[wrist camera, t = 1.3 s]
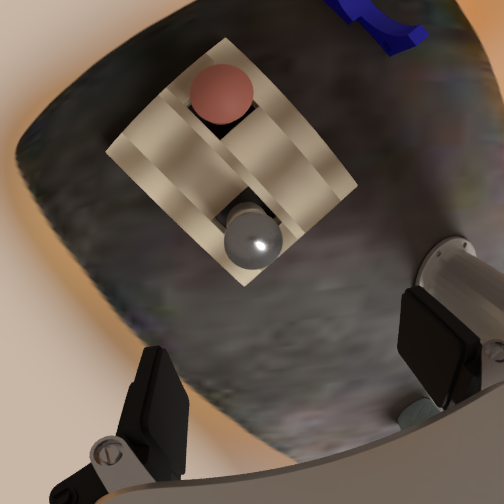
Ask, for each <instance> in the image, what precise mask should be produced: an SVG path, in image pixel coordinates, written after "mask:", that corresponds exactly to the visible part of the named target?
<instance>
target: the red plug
mask: <svg viewBox="0 0 504 504" xmlns="http://www.w3.org/2000/svg"><path fill="white" fill-rule="evenodd" d="M253 95H254V90H253V85H252V82H251V80H250V78H249V77H248V76H247V74H246V73H245V72H243V71H242V70H241V69H239V68H237V67H235V66H232V65H228V64H217V65H213V66H210V67H207V68H206V69H204V70H202V71H201V72H200V73H199V74H198V75H197V76H196V77H195V79H194V80H193V82H192V85H191V88H190V101H191V104H192V106H193V108H194V110H195V111H196V112H197V113H198V115H199V116H201V117H202V118H203V119H205V120H207V121H209V122H211V123H214V124H218V125H224V124H228V123H231V122H233V121H235V120H237V119H238V118H240V117H241V116H243V115H244V114H245V113H246V111H247V110H248V109H249V107H250V106H251V103H252V100H253Z"/></svg>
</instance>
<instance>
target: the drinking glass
mask: <svg viewBox="0 0 504 504" xmlns="http://www.w3.org/2000/svg"><path fill="white" fill-rule="evenodd" d="M439 413H441V412H440V411H439V410H438V408H436V406H435V405H434V403H433V402H432V401H431V400H430V399H427V398H423V399H420V400H418V401H416V402H414V403H412V404H411V405H409V406H408V407H407V408H406V409H405V410H404V411H403V412H402V413H401V414H400V416H399V418H398V424H399V426H400V428H401V430H404V429H406V428H409V427H411V426H413V425H415V424H418V423H420V422H422V421H424V420H426V419H428V418H430V417H433V416H435V415H437V414H439Z"/></svg>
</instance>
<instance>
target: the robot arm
mask: <svg viewBox="0 0 504 504" xmlns="http://www.w3.org/2000/svg"><path fill="white" fill-rule="evenodd" d="M397 349H398V352H399V354H400V355H401V357H402V358H403V359H404V361H405V362H406V363H407V365H408V366H409V368H410V369H411V370H412V372H413V373H414V374H415V376H416V377H417V378H418V380H419V381H420V383H421V384H422V385H423V387H424V388H425V390H426V391H427V392H428V394H429V395H430V397H431V398H432V399H433V401H434V402H435V404H436V405H437V406H438V407H439V408H441V407H442V408H443V410H444V411H443V412H441V413H439V414H437V415H435V416H433V417H430V418H428V419H426V420H424V421H422V422H420V423H418V424H415V425H413V426H411V427H409V428H406V429H404V430H402V431H399V432H397V433H394V434H392V435H389V436H387V437H384V438H382V439H379V440H376V441H374V442H371V443H368V444H365V445H362V446H359V447H356V448H353V449H350V450H347V451H344V452H341V453H337V454H334V455H331V456H327V457H323V458H320V459H316V460H312V461H308V462H304V463H300V464H295V465H291V466H286V467H281V468H276V469H271V470H266V471H260V472H254V473H247V474H240V475H233V476H224V477H215V478H206V479H192V480H181V475H183V474H185V468H186V447H187V431H188V416H189V398H188V395H187V393H186V391H185V389H184V387H183V385H182V383H181V381H180V379H179V377H178V374H177V372H176V370H175V368H174V366H173V364H172V361H171V359H170V357H169V355H168V352H167V350H166V349H162V348H161V347H160V346H159V345H158V346H151V347H145V348H144V350H143V353H142V357H141V360H140V363H139V367H138V370H137V373H136V377H135V380H134V382H132V383H131V385H130V386H129V389H128V393H127V396H126V400H125V403H124V407H123V410H122V414H121V417H120V421H119V425H118V429H117V433H116V436H106V437H104V438H102V439H99V440H98V441H97V442H96V443H95V444H94V445H93V446H92V448H91V451H90V460H91V463H90V464H88V465H87V466H85V467H84V468H82V469H81V470H79V471H78V472H76V473H75V474H73V475H71V476H70V477H68V478H67V479H65V480H64V481H62V482H61V483H59V484H57V485H56V486H55V487H54V488H53V489H52V491H51V493H50V496H49V503H50V504H504V274H503V273H501V272H500V271H498V270H497V269H495V268H493V267H492V266H490V265H488V264H487V263H485V262H483V261H482V260H480V259H478V258H477V256H476V252H475V249H474V247H473V245H472V244H471V243H470V242H469V241H467V240H466V239H464V238H461V237H457V236H453V237H449V238H446V239H444V240H442V241H441V242H439V243H438V244H437V245H436V246H435V247H434V248H433V249H432V250H431V251H430V252H429V253H428V255H427V256H426V258H425V259H424V261H423V263H422V265H421V267H420V269H419V272H418V275H417V278H416V284H415V286H414V287H411V288H407V289H406V290H405V293H404V294H402V299H401V313H400V324H399V334H398V343H397Z"/></svg>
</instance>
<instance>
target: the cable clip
mask: <svg viewBox="0 0 504 504" xmlns="http://www.w3.org/2000/svg"><path fill="white" fill-rule="evenodd" d="M323 1H324V2H326V3H327V4H328V5H329V6H330V7H331V8H332V9H333V10H334V11H335V12H336V13H337V14H338V15H339V16H340V17H341V18H342V19H343V20H344V21H345V22H346V23H347V24H348V25H349V24H350V23H352V22H353V21H354V20H357V21H358V22H359V23H360V24H361V25H362V26H363V27H364V28H365V29H366V30H367V31H368V32H369V33H370V35H371V36H372V37H373V38H374V39H375V40H376V41H377V42H378V44H379V45H380V46H381V47H382V48H383V49H384V51H385V52H386V53H387V54H388V55H389V57H390V56H392V55H394V54H397V53H399V52H402V51H404V50H407V49H410V48H412V47H415V46H417V45H418V44H419V43H420V42H422V41H423V40H424V39H425V38H427V37H428V36H429V34H428V33H427V31H426V30H425V29H424V28H423V26H422V25H417V26H408V25H404V24H401V23H398V22H396V21H394V20H392V19H391V18H389V17H388V16H386V15H385V14H383V13H382V12H381V11H380V10H379V9H378V8H377V7H376V6H375V5H374V4H373V3H372V2H371V1H370V0H323Z"/></svg>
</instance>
